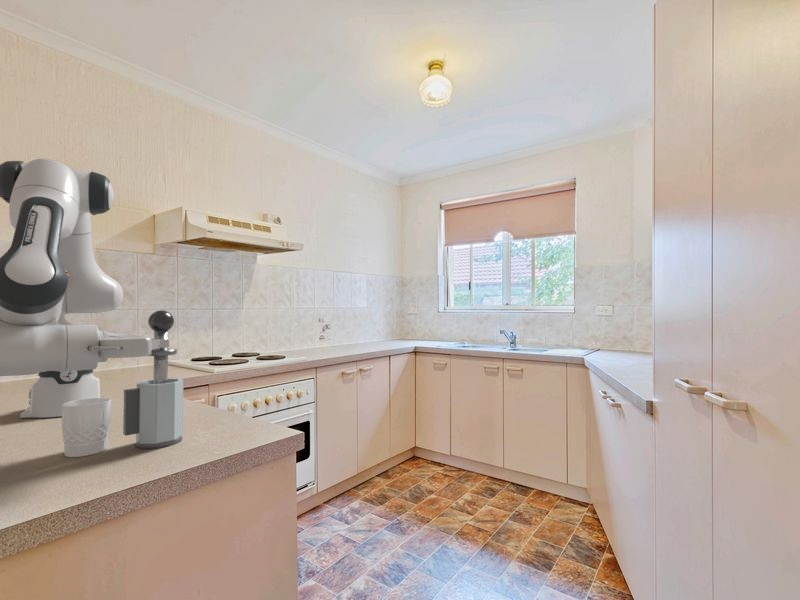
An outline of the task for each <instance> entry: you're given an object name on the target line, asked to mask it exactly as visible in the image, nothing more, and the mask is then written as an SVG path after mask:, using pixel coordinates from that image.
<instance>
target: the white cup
mask: <svg viewBox="0 0 800 600" xmlns="http://www.w3.org/2000/svg"><path fill="white" fill-rule="evenodd" d="M61 407H62V416H61V424H62V425H61V428H62V442H63V446H64V447H63V449H64V451H63V452H64V457H66V458H79V457H80V458H81V457H88V456H92V455H95V454H99V453H101V452H104V451H105V450H107V448H108V438H109V437H108V436H109V433H110V423H111V407H112V398H111V397H100V398H88V399H80V400H74V401H70V402H66V403H63V404H62V405H61Z"/></svg>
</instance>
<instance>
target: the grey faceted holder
mask: <svg viewBox="0 0 800 600" xmlns="http://www.w3.org/2000/svg"><path fill="white" fill-rule="evenodd" d="M122 426H123V428H122V429H123V432H122V435H124V437H125V436H130V435H131V436H132V435H135V441H136V443H135V444H136V445H135V446H137V448H139V449H141V448H142V449H141V450H151V449H160V448H166V447H169V446H173V445H176V444H178V443H180V442H181V441H183V434H184V379H182V378H179V377H178V378H174V377H172V378H168V383H164V384H154V379H149V380H146V379H145V380H143V381H139V382H137V383H136V388H128V389H123V424H122Z"/></svg>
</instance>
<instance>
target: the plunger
mask: <svg viewBox="0 0 800 600" xmlns="http://www.w3.org/2000/svg"><path fill="white" fill-rule="evenodd" d="M147 323H148V325H149V328H150V329H151V330H152V331H154V332H153V334H154V335H153V339H155V340H158V339H168V340H169V331H170V330H171V329H172V328H173V327H174V323H175V318H174V316H173V314H172V313H170V311H167V310H156V311H154V312H152V313H151V314H150V315H149V317H148V320H147ZM177 354H178V349H177V348H169V347H167V348H158V349H153V350H151V355H149V356H148V357H153V380H154V384H164V383H168V377H169V375H168V372H169V369H168V368H169V367H168V365H169V356H174V355H177Z"/></svg>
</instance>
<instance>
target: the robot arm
mask: <svg viewBox="0 0 800 600" xmlns="http://www.w3.org/2000/svg"><path fill="white" fill-rule="evenodd" d="M0 198H1V199H2V200H3V201H4V202H5V203H8V204H9V207H8V208H9V209H8V210H9V211H8V212H9V220H10V221H9V222H10V225H11V227H13V228H14V229H15V230H14V233H13V237H12V241H11V245H10V247H9V248H8V250H7V251H6V252H5V253H4V254H3V255H2V256H0V377H10V376H11V377H14V376H15V377H16V376H28V375H29V376H30V375H36V374H38V377H39V378H38V380H37V381H35V382H34V383H33V384H32V385H31V388H30V389H29V391H28V399H29V401H28V405H29V406H28V407H27V408H26V409H25V410H23V411H22V412H21V413H20V415H19V418H20V419H23V418H24V419H25V418H26V419H27V418H41V419H42V418H56V417H62V407H61V405H62V404H63V403H66V402H70V401H74V400H80V399H88V398H101V396H100V395H101V393H100V391H101V389H100V386H101V385H100V379H99V378H98V377H96V376H95V375H94V374H93V372H94V370H95V369H97V367H98V365H99V363H105V362H107V361H108V359H124V358H126V359H127V358H140V357H141V358H142V357H150V356H149V355H151V350H153V349H158V348H167V347H168V348H169V347H170V340H169V338H168V339H158V340H155V339H154V338H152V337H149V336H143V335H135V334H129V333H116V332H114V333H113V332H108V330H106V329H105V330H104V329H103V330H99V328H98V325H97V324H95V323H89V324H88V323H87V324H86V323H85V324H84V323H83V324H73V323H70V322H68V321H67V320H66V317H65V316H66V315H68V314H100V313H101V314H102V313H106V312H113V311H114V312H115V310H117V309H118V308H119V307H120V306H121V304H122V302H123V300H124V289H123V288H122V286H121V284H120V282H118V281H117V280H116V279H114V278H112V277H111V276H109V275H108V274H106V272H104V270H103V269H102V268H101V267H100V266H99V264H98V263H97V261H96V258H95V255H94V248H93V237H92V236H93V235H92V220H91V219H92V218H91V215H92V216H97V215H101V214H105V213H107V212H109V211H110V209H111V207H112V206H113V204H114V200H115V191H114V187H113V185H112V184H111V181H110V179H109V178H108V177H107V176H106V175H104V174H102V173H101V174H100V173H98V172H95V171H91V172H90V171H87V170H83V169H79V168H74V167H70V166H67V165H66V164H64V163H62V162H60V161H57V160H54V159H51V158H36V159H31V160H30V161H29V162H24V161H22V160H7V161H5V162H1V164H0ZM67 273H68V275H67Z"/></svg>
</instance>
